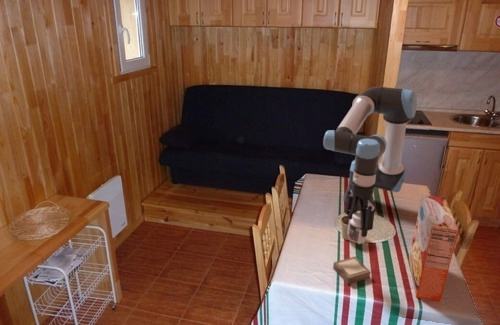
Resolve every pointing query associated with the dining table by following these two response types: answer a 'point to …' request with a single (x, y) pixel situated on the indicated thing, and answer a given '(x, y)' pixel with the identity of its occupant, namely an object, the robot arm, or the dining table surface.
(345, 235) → the flower pot
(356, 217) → the pill bottle
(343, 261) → the base block
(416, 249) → the pasta box
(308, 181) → the dining table surface
